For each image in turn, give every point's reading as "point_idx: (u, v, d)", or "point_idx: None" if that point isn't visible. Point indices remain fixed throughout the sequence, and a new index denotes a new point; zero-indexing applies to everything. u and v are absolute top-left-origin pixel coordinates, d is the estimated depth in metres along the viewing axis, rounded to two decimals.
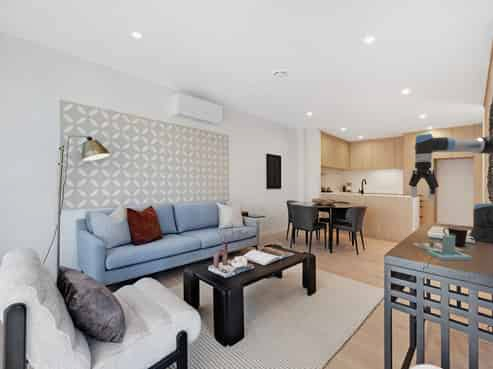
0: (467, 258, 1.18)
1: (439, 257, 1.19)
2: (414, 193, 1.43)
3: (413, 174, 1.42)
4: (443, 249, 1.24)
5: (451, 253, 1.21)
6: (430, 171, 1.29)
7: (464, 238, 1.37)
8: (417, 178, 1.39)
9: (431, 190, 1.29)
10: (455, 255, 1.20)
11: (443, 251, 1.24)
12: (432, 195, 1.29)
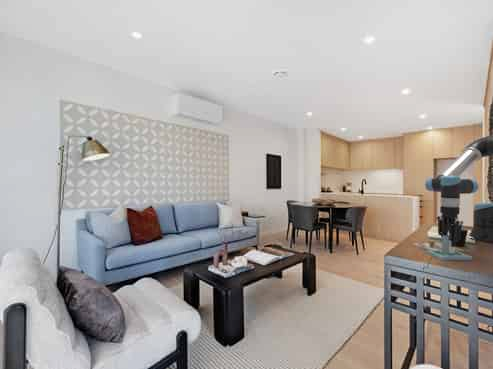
0: (467, 258, 1.18)
1: (439, 257, 1.19)
2: None
3: (439, 220, 1.27)
4: (443, 249, 1.24)
5: (451, 253, 1.21)
6: (458, 223, 1.16)
7: (464, 238, 1.37)
8: (445, 225, 1.24)
9: (452, 242, 1.20)
10: (455, 255, 1.20)
11: (443, 251, 1.24)
12: (453, 247, 1.20)
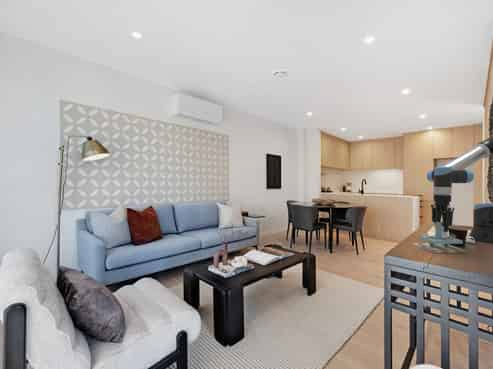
0: (458, 242, 1.27)
1: (432, 241, 1.29)
2: None
3: (433, 208, 1.37)
4: (436, 234, 1.33)
5: (443, 238, 1.31)
6: (450, 209, 1.25)
7: (464, 238, 1.37)
8: (438, 212, 1.33)
9: (444, 228, 1.29)
10: (447, 239, 1.29)
11: (436, 236, 1.33)
12: (445, 232, 1.30)
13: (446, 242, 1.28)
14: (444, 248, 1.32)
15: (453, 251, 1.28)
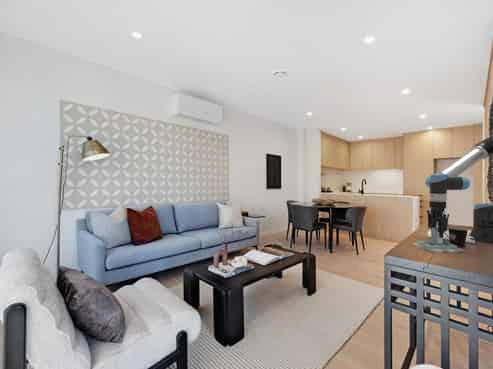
0: (453, 247, 1.31)
1: (428, 247, 1.32)
2: None
3: (428, 214, 1.40)
4: (432, 240, 1.37)
5: (439, 243, 1.34)
6: (445, 216, 1.29)
7: (464, 238, 1.37)
8: (434, 218, 1.36)
9: (440, 233, 1.33)
10: (442, 245, 1.33)
11: None
12: (441, 238, 1.33)
13: (441, 247, 1.31)
14: None
15: (453, 251, 1.28)
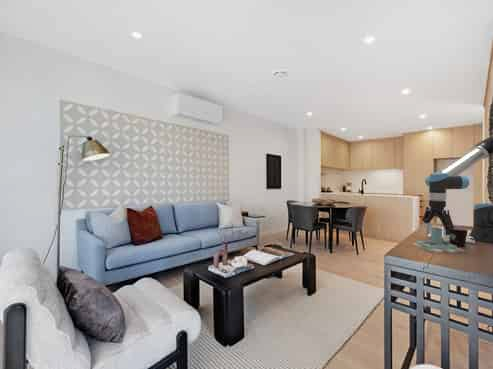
0: (452, 247, 1.31)
1: (427, 246, 1.33)
2: (428, 230, 1.42)
3: (427, 211, 1.41)
4: (431, 240, 1.37)
5: (438, 243, 1.34)
6: (445, 211, 1.28)
7: (464, 238, 1.37)
8: (431, 216, 1.39)
9: (446, 231, 1.28)
10: (442, 245, 1.33)
11: None
12: (447, 236, 1.29)
13: (441, 247, 1.31)
14: None
15: (453, 251, 1.28)
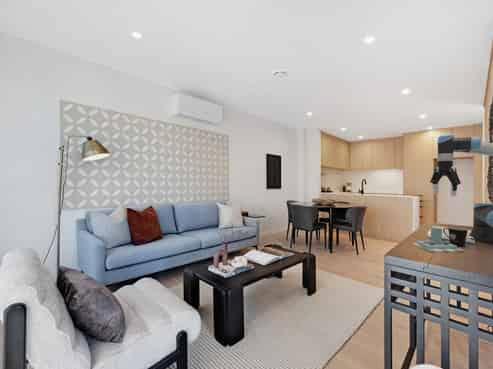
0: (452, 247, 1.31)
1: (427, 246, 1.33)
2: (435, 190, 1.54)
3: (435, 172, 1.53)
4: (431, 240, 1.37)
5: (438, 243, 1.34)
6: (452, 169, 1.40)
7: (464, 238, 1.37)
8: (439, 176, 1.50)
9: (453, 187, 1.40)
10: (442, 245, 1.33)
11: None
12: (454, 191, 1.40)
13: (441, 247, 1.31)
14: None
15: (453, 251, 1.28)
